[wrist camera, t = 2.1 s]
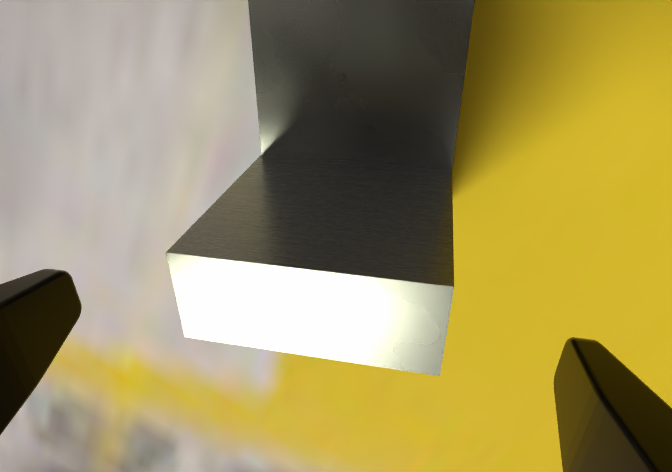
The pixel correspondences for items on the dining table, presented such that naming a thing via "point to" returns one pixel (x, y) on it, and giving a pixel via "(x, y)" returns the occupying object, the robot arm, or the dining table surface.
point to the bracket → (338, 189)
